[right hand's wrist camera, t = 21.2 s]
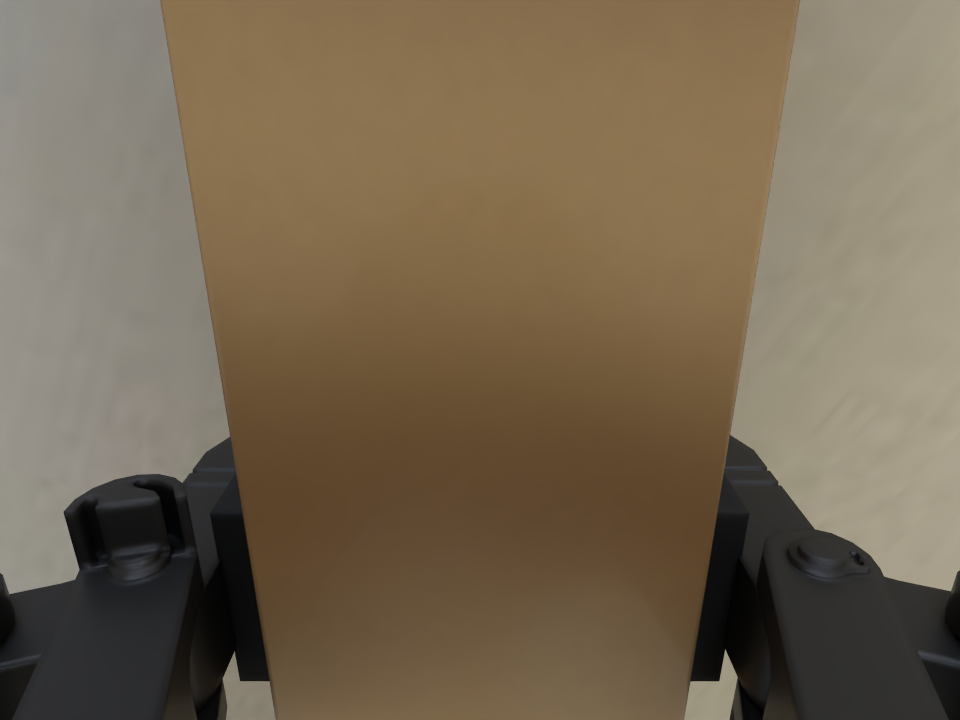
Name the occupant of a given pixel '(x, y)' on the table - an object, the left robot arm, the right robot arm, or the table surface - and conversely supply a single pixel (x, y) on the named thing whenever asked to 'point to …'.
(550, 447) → the bar
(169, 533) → the right robot arm
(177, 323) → the table surface
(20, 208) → the table surface
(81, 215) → the table surface
